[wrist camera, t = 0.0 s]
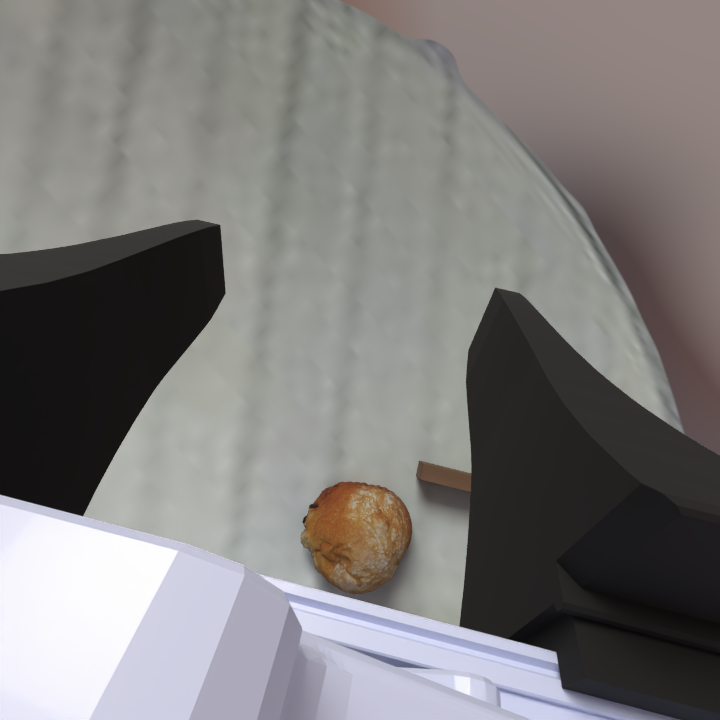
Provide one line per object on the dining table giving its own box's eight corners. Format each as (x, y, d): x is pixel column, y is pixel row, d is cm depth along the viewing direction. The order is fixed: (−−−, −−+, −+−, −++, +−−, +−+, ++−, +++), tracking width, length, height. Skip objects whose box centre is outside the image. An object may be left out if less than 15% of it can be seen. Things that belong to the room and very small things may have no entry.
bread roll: (366, 577, 43) (403, 623, 36) (279, 555, 39) (300, 602, 32) (400, 488, 45) (443, 516, 37) (319, 459, 41) (349, 483, 33)
